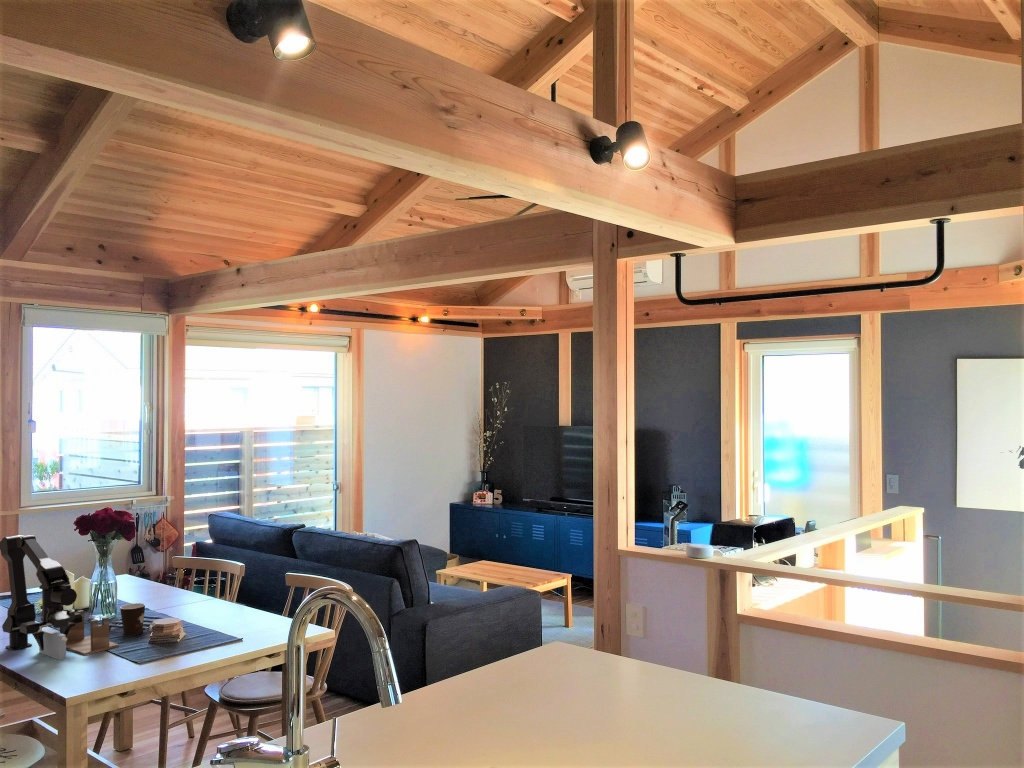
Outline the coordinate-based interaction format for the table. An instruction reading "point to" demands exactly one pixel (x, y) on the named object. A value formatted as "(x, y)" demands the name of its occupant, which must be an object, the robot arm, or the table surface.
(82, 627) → the hinge frame
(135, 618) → the coffee mug
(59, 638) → the door
